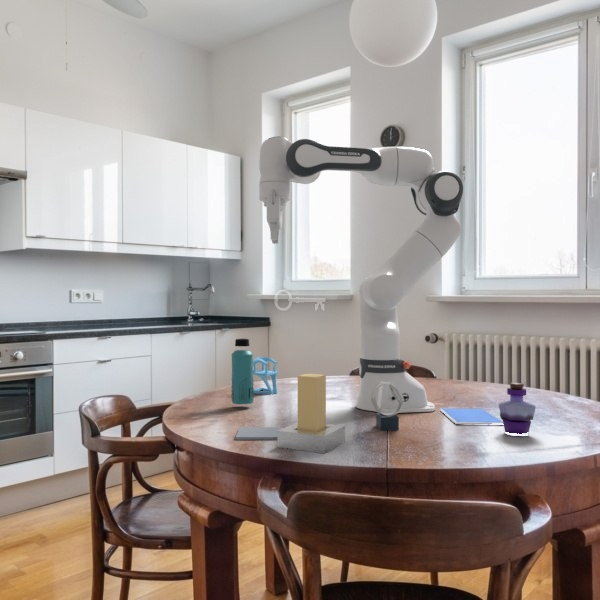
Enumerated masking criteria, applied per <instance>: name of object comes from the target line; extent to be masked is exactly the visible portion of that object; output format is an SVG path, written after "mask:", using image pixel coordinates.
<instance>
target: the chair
mask: <svg viewBox="0 0 600 600" xmlns="http://www.w3.org/2000/svg"><path fill="white" fill-rule="evenodd" d="M269 362H271V363H273V364H274V365H273V367H272V370H268V369H269ZM256 364H262V365H261V369H260V370H257V365H256ZM277 364H278V361H276V360H275V359H273V358H271V357H266V356H265V357H263V356H258V357H256V358H253V372H254V373H253V376H257V377H259V378H260V379H261V380H263V383H264V384H265V387H259V388H258V387H257V388H253V393H254V395H255V394H259V395H271V394H272V395H273V394H278V388H277V375H279V371H277V368H276V366H277ZM269 376H270V378H271V382H272V387H271V385H270V383H269V380H268V377H269ZM260 390H263V391H260Z"/></svg>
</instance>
